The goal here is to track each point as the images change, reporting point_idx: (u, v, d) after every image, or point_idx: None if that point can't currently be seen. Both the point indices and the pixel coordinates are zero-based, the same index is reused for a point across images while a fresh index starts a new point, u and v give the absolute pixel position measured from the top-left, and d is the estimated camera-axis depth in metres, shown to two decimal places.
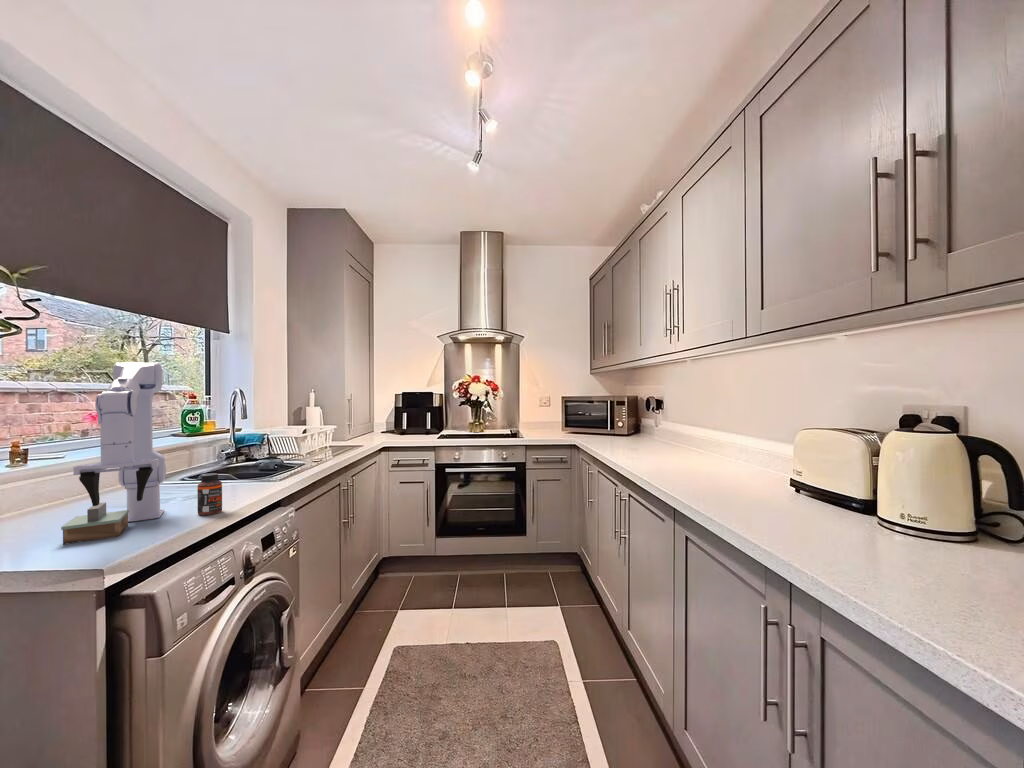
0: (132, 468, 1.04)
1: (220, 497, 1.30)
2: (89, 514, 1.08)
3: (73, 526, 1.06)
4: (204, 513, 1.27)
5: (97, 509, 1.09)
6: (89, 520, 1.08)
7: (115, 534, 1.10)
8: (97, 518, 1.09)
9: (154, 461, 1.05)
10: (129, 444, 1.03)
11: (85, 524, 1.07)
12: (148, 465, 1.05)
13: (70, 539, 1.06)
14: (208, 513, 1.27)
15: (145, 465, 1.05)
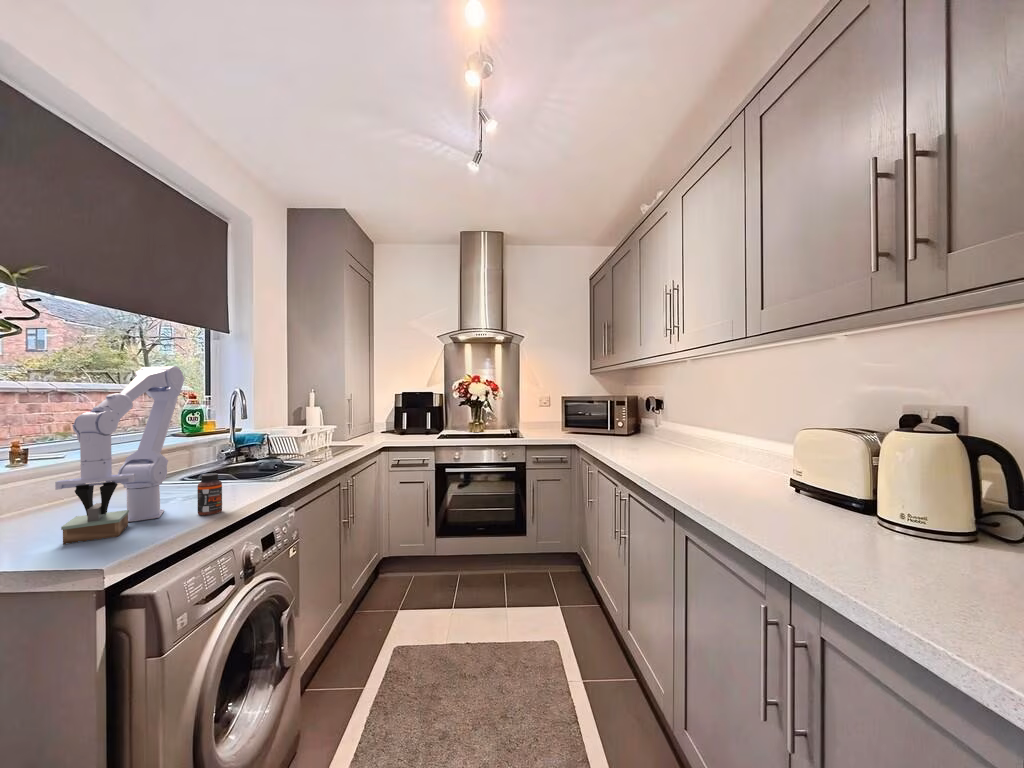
0: (110, 482, 1.13)
1: (220, 497, 1.30)
2: (89, 514, 1.08)
3: (73, 526, 1.06)
4: (204, 513, 1.27)
5: (97, 509, 1.09)
6: (89, 520, 1.08)
7: (115, 534, 1.10)
8: (97, 518, 1.09)
9: (130, 476, 1.15)
10: (107, 460, 1.12)
11: (85, 524, 1.07)
12: (125, 479, 1.14)
13: (70, 539, 1.06)
14: (208, 513, 1.27)
15: (122, 479, 1.14)
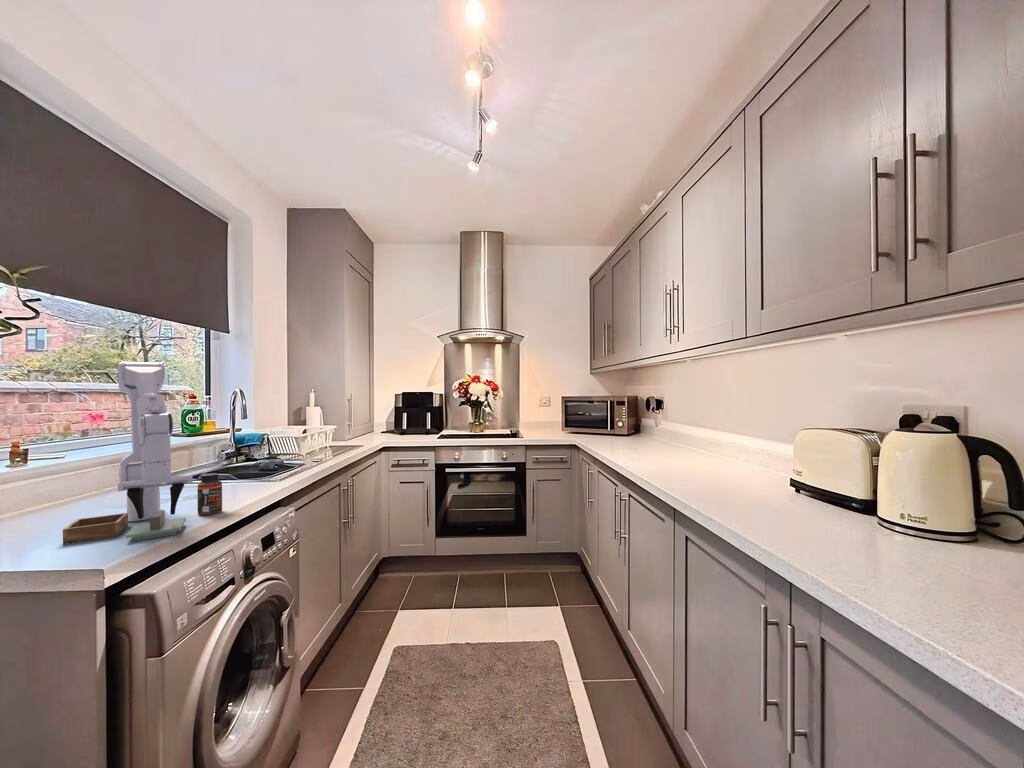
0: (169, 484, 1.13)
1: (220, 497, 1.30)
2: (151, 522, 1.08)
3: (137, 534, 1.06)
4: (204, 513, 1.27)
5: (159, 517, 1.09)
6: (151, 528, 1.08)
7: (115, 534, 1.10)
8: (159, 526, 1.09)
9: (189, 477, 1.14)
10: (167, 462, 1.12)
11: (148, 532, 1.07)
12: (184, 481, 1.14)
13: (70, 539, 1.06)
14: (208, 513, 1.27)
15: (181, 481, 1.14)
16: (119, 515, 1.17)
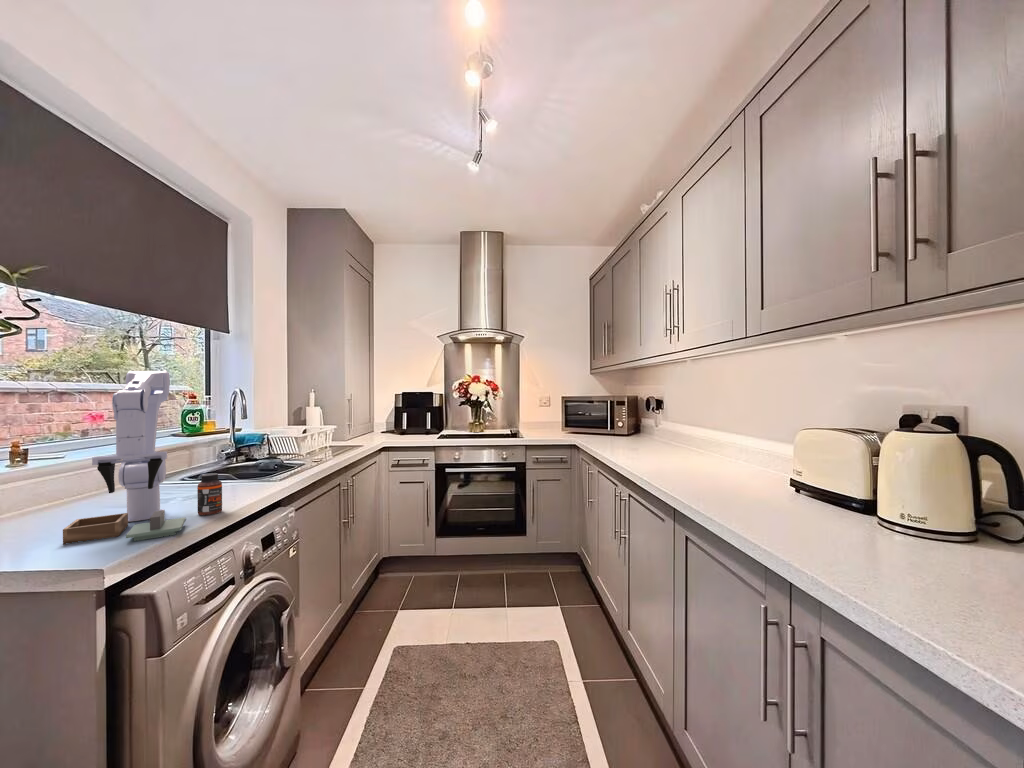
0: (144, 459, 1.15)
1: (220, 497, 1.30)
2: (151, 522, 1.08)
3: (137, 534, 1.06)
4: (204, 513, 1.27)
5: (159, 517, 1.09)
6: (151, 528, 1.08)
7: (115, 534, 1.10)
8: (159, 526, 1.09)
9: (164, 453, 1.17)
10: (141, 437, 1.14)
11: (148, 532, 1.07)
12: (158, 457, 1.17)
13: (70, 539, 1.06)
14: (208, 513, 1.27)
15: (155, 457, 1.17)
16: (119, 515, 1.17)
